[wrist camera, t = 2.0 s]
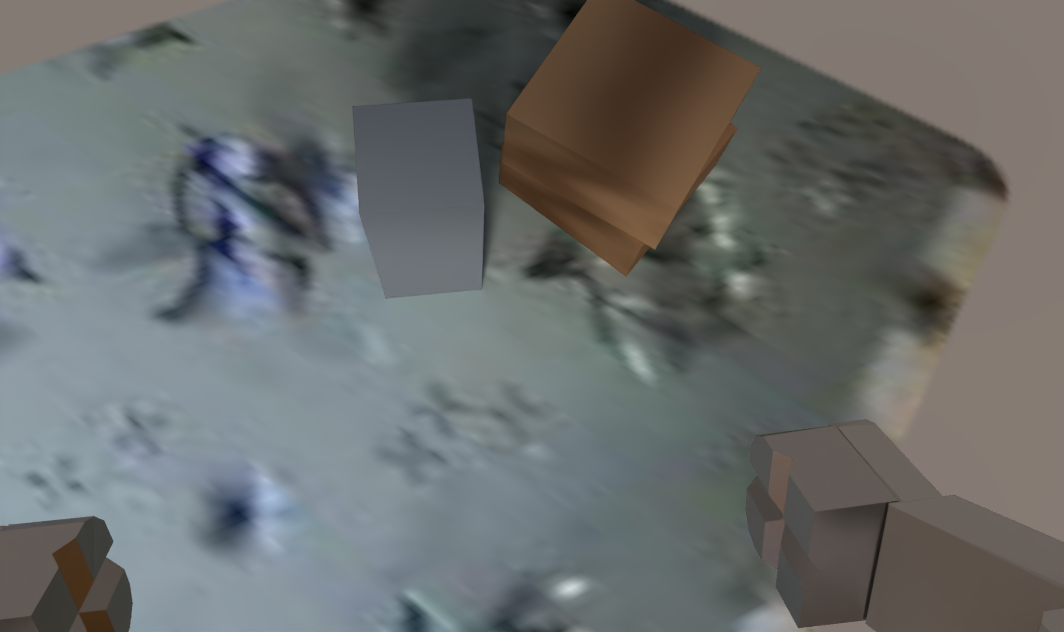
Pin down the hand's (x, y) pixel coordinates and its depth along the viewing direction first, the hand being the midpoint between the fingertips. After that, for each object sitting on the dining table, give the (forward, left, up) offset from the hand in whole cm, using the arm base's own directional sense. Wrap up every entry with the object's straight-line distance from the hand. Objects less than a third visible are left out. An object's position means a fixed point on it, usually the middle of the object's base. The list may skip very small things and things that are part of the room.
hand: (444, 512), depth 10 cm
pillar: (-9, +9, -21) cm, 24 cm away
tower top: (-5, +16, -17) cm, 24 cm away
